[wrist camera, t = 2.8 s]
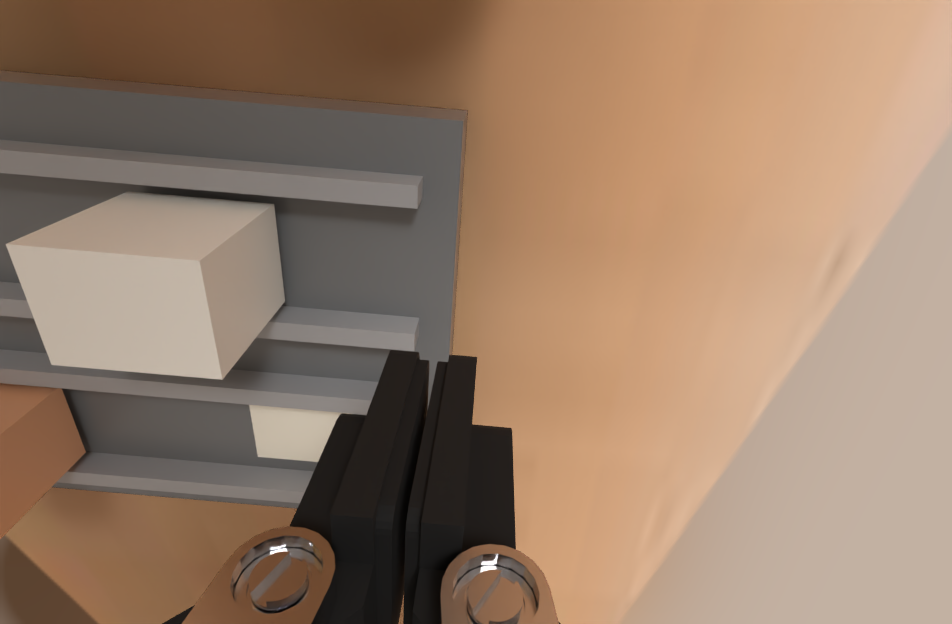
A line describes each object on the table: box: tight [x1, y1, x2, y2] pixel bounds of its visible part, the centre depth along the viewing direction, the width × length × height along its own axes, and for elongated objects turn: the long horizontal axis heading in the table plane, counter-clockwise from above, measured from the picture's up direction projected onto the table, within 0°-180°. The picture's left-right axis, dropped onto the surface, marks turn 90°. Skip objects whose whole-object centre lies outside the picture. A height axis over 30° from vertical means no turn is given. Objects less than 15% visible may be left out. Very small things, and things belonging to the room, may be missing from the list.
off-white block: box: [6, 191, 285, 380], centre depth 13 cm, size 3×4×4 cm
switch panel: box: [0, 70, 468, 508], centre depth 17 cm, size 15×22×3 cm
